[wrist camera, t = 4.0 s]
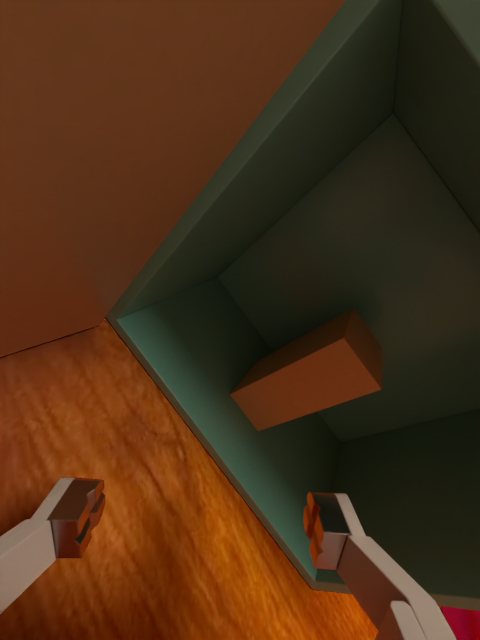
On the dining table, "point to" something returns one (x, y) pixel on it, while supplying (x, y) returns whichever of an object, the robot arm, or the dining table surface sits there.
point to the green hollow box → (343, 290)
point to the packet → (312, 373)
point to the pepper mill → (463, 622)
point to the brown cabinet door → (120, 136)
